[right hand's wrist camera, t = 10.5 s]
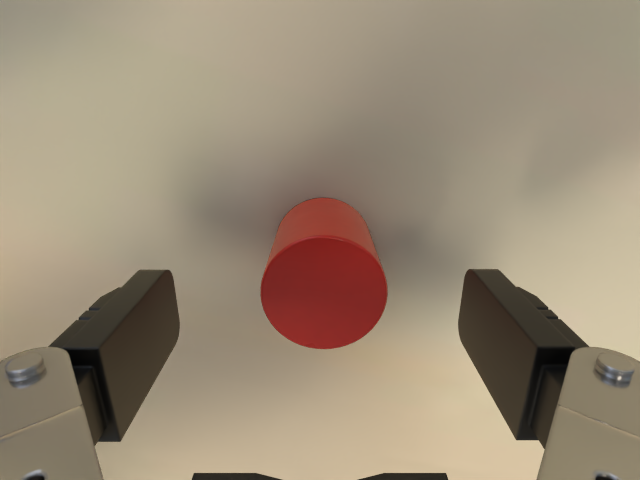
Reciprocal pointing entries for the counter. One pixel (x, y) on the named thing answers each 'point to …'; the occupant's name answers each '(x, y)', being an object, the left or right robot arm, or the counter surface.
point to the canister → (323, 276)
